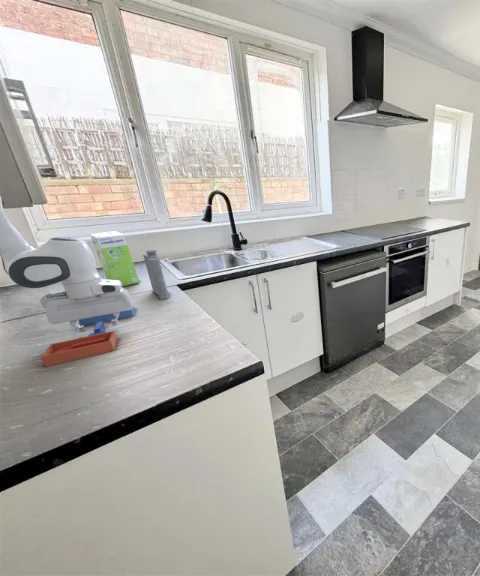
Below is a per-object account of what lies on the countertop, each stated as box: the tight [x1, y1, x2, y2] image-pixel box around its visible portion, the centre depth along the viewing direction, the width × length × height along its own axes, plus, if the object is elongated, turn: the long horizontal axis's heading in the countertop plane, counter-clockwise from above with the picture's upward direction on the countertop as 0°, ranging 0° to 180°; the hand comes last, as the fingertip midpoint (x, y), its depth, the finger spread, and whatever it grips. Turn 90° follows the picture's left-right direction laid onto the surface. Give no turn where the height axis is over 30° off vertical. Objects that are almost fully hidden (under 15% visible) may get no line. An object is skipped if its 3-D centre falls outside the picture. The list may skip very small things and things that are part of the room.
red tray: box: [41, 330, 118, 367], centre depth 89 cm, size 14×8×4 cm, turn 125°
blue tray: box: [78, 305, 135, 327], centre depth 111 cm, size 14×8×4 cm, turn 125°
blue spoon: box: [87, 321, 106, 336], centre depth 99 cm, size 11×4×3 cm, turn 35°
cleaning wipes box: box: [90, 230, 140, 287], centre depth 148 cm, size 18×10×24 cm, turn 49°
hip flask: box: [142, 249, 170, 300], centre depth 131 cm, size 16×4×20 cm, turn 45°
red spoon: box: [54, 338, 106, 353], centre depth 89 cm, size 11×4×3 cm, turn 124°
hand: (99, 328), depth 101 cm, fingers open, 7 cm apart
